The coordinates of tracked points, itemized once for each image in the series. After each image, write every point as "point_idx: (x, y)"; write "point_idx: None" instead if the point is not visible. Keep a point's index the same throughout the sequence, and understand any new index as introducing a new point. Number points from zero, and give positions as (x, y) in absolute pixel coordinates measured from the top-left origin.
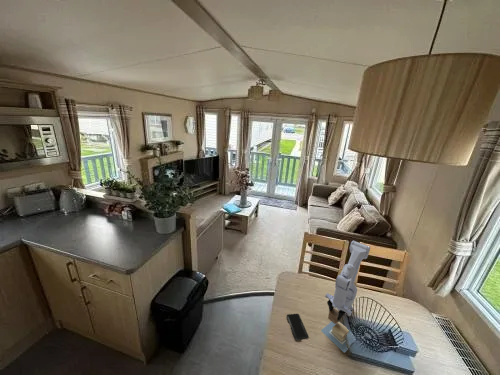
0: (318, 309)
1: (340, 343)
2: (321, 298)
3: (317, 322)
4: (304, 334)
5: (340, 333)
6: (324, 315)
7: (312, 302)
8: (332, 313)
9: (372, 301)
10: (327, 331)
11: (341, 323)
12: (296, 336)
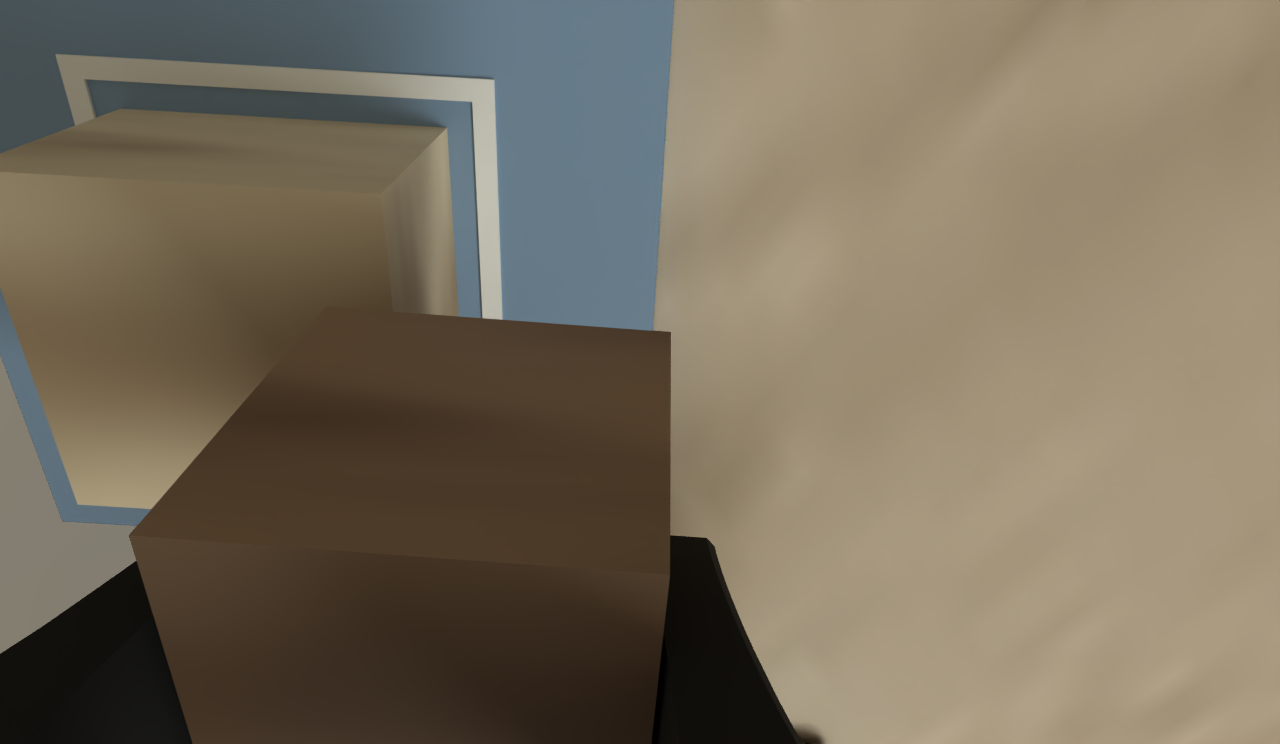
0: (1061, 464)
1: (92, 34)
2: (1119, 728)
3: (905, 95)
4: None
5: (76, 191)
6: (864, 435)
7: (1276, 516)
8: (474, 603)
9: None
10: (533, 58)
11: None
12: None
